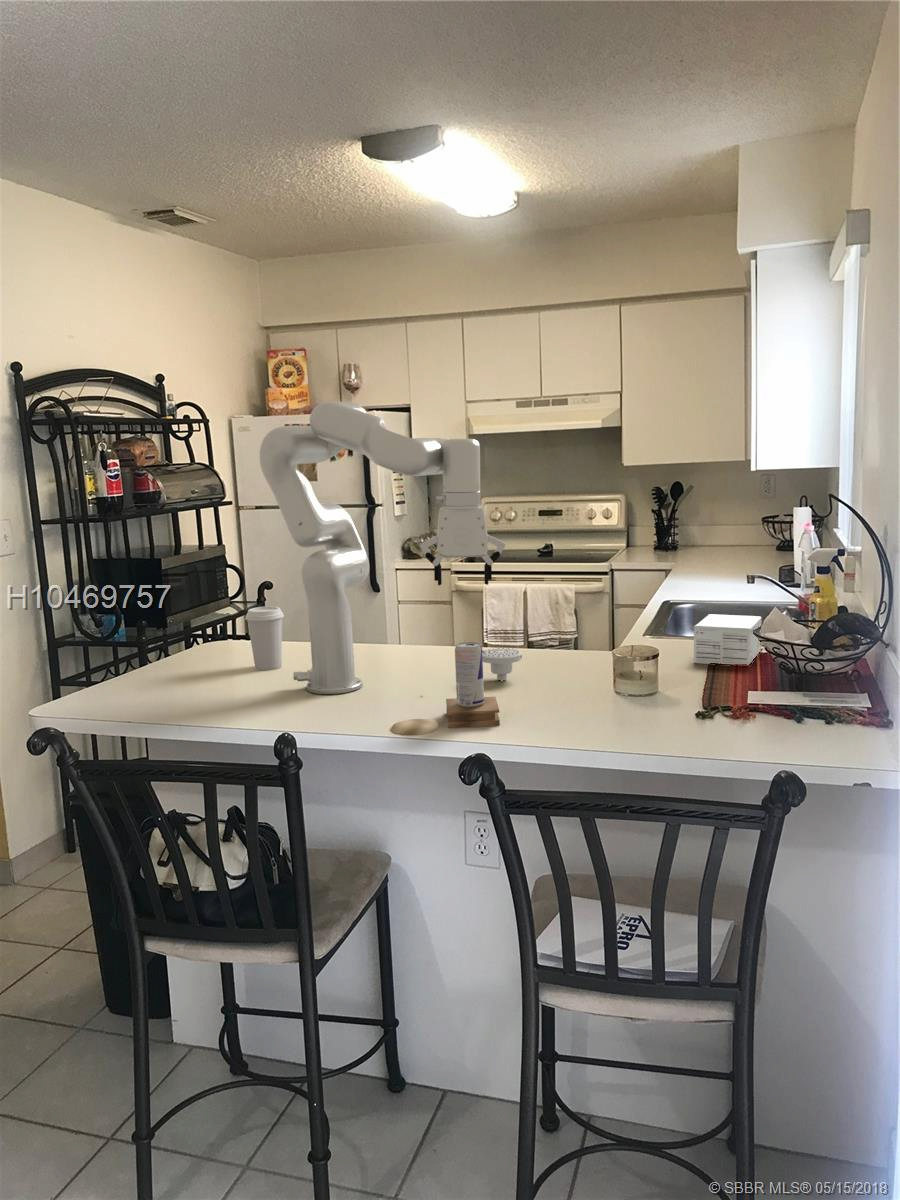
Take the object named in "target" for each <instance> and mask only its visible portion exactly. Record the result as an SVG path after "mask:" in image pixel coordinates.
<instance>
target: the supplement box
mask: <svg viewBox="0 0 900 1200" xmlns="http://www.w3.org/2000/svg"><path fill="white" fill-rule="evenodd" d="M761 625H763V624H762V616H758V615H757V616H756V615H740V614H739V615H736V614H734V615H733V614H731V615H730V614H715V613H714V614H712V613H711V614H709V613H708V614H707V616H705V617H704V618H703V619H702V620H700V621H699V622H698V623H697V624H695V625H693V663H694V664H701V665H703V664H704V665H711V664H710V663H719V664H720V663H721V664H747V665H749V664H750V663H751V662H752V661H753V659H754V658H755V657H756V656H757V654H758V653H759V652H760V653H761V652H762V651H761V650H762V641H761V642H760V641H759V640H758V638H757V637H756V636H755V635H754V634H753V630H755V629H757V628H758V627H760V626H761ZM757 657H758V656H757ZM753 662H754V661H753ZM753 662H752V663H753Z"/></svg>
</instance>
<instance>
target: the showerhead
mask: <svg viewBox="0 0 900 1200" xmlns="http://www.w3.org/2000/svg"><path fill="white" fill-rule="evenodd" d="M522 658H523V652H522V651H520V650H518V649H514V648H510V647H508V648H505V647H503V648H499V647H498V648H492V649H488V650H486V649H485V650H484V649H482V659H483V663H486V664H490V672H491V673H493V675H494V674H495V675H496V678H497V679H496V680H506V681H507V680H508V678H507V675H509V674H511V673H512V672H513V663H517V662H520V661H521V660H522Z"/></svg>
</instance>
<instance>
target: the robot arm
mask: <svg viewBox="0 0 900 1200" xmlns="http://www.w3.org/2000/svg"><path fill="white" fill-rule="evenodd" d="M480 447H481V446H480V442H479V441H478V440H476V439H475V438H450V439H446V438H442V437H441V438H439V437H419V438H418V437H415V438H412V437H408V436H406V435H403V434H400V433H396V432H394V431H392V430H388V429H387V426H386V423H385V421H384V419H383V418H382V417H380V416H377V415H373V414H371V413H368V412H367V411H366V409H365V408H364V407H362V406H361V405H359V404H358V403H356V402H351V401H335V400H334V401H330V400H329V401H324V402H322V403H319V404H317V405H316V406H315V407H314V408H313V409H312V411H311V412H310V416H309V425H283V426H279V427H276V428H274V429H272V430H270V431H269V432H267V434H266V435H265V436H264V437H263V439H262V442H261V443H260V448H259V455H258V457H259V465H260V469H261V472H262V474H263V476H264V479H265V480H266V482H267V484H268V486H269V488H270V489H271V491H272V494H273V495H274V499H275V500H276V502H277V505H278V508H279V509H280V511H281V515H282V517H283V520H284V521H285V524H286V527H287V529H288V531H289V534H290V535H291V538H292V540H293V542H294V543H295V544H296V545H298V546H299V547H301V548H306V549H307V548H308V549H309V548H317V547H323V546H325V549H321V550H318V551H315V552H313V553H311V554H310V555H308V556H307V557H306V559H305V560H304V561H303V563H302V567H301V570H300V571H301V572H300V575H301V581H302V585H303V588H304V592H305V593H304V594H305V596H306V601H307V602H306V603H307V610H308V611H307V612H308V624H309V638H310V651H311V653H310V654H311V664H312V665H311V668H310V669H307V671H293V673H292V674H293V677H292V678H293V681H297V682H306V681H307V683H306V690H307V691H308V692H309V693H312V694H318V695H335V694H336V695H337V694H344V693H345V694H346V693H351V692H354V691H357V690H359V689H360V688H361V687H362V686H363V680H362V679H361V678H359V677H356V674H355V673H356V672H355V655H354V638H353V636H354V635H353V625H352V623H353V622H352V611H351V609H352V608H351V605H350V602H349V600H348V597H347V595H346V592H345V589H349V588H352V587H355V586H358V585H361V584H362V583H363V582H365V581H366V579H367V578H368V576H369V573H370V561H369V558H368V554H367V552H366V548H365V547H364V544H363V542H362V540H361V537H360V535H359V533H358V530H357V528H356V526H355V524H354V521H353V519H352V517H351V515H350V514H349V512H348V511H347V510H346V509H345V508H344V507H343V506H341V505H339V504H337V503H331V502H325V503H321V502H320V501H319V499H318V498H317V496H316V494H315V492H314V489H313V486H312V484H311V483H310V480H309V479H308V478H307V477H306V476H305V475H304V473H302V471H301V470H300V469H299V468H298V465H306V464H307V465H308V464H319V463H322V462H326V461H328V460H329V459H332V458H333V457H334V456H336V455H337V454H339V453H341V452H343V451H345V450H346V449H348V450H350V451H353V452H355V453H358V454H361V455H364V456H365V457H367V459H369V460H370V461H371V462H373V463H374V464H375V465H377V466H380V467H382V468H385V469H386V470H389V471H391V472H392V471H393V472H395V473H398V474H401V475H404V476H406V477H408V476H409V477H421V476H434V475H435V476H436V475H442V490H443V492H442V493H441V494H437V495H436V496H435V498H436V499H435V501H436V503H441V504H443V506H441V507H440V508H439V511H438V519H437V535H434V536H432V537H431V538H429V539H427V540H425V541H423V542H422V543H420V546H419V547H420V549H421V551H422V553H423V555H424V556H425V558H426V559H427V561H429V563H431V564H432V566H433V569H434V576H433V577H434V581H435V582H437V586H441V585H442V583H443V582H442V581H443V579H442V578H443V577H442V564H441V562H442V561H443V559H445V558H479V557H480V558H482V559H483V561H484V562H485V563H484V570H483V571H484V572H483V573H484V577H483V578H484V585H486V586H488V585H489V581H492V580H493V579H492V576H493V575H492V573H493V572H492V565H494V563H495V561H496V560H499V558H500V556H501V554H502V552H504V551H503V550H504V549H505V546H506V544H505V542H504V541H503V540H500V539H498V538H496V537H494V536H491V535H490V534H488V526H487V523H488V522H487V515H486V514H487V513H486V509H485V507H484V506H481V448H480ZM488 543H490V544H492V545H494V546H496V549H495V550H494V552H493V553H492V554H491V555H489V554H488V549H489V548H488V547H489V544H488ZM435 544H437V546H436V547H437V553H438V554H436V556H435V555H434V554H433V553H432V552H431V551H430V548H429V547H431V546H433V545H435Z"/></svg>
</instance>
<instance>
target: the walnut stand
mask: <svg viewBox="0 0 900 1200" xmlns="http://www.w3.org/2000/svg"><path fill="white" fill-rule="evenodd" d="M445 703H446V708H445V709H446V721H447V728H450V729H451V728H452V729H453V728H468V727H469V728H471V727H472V728H473V727H492V726H500V725H501V723H500V722H501V721H500V716H499V713H500V707H499V705H498V701H497V698H496V696H484V703H483V705H481V706H479V707H472V708H467V707H461V706H459V705H458V704H457V697H454V698H446V699H445Z"/></svg>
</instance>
